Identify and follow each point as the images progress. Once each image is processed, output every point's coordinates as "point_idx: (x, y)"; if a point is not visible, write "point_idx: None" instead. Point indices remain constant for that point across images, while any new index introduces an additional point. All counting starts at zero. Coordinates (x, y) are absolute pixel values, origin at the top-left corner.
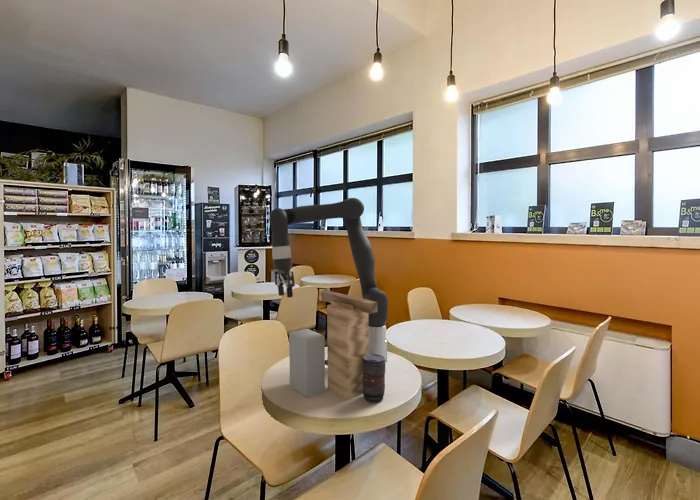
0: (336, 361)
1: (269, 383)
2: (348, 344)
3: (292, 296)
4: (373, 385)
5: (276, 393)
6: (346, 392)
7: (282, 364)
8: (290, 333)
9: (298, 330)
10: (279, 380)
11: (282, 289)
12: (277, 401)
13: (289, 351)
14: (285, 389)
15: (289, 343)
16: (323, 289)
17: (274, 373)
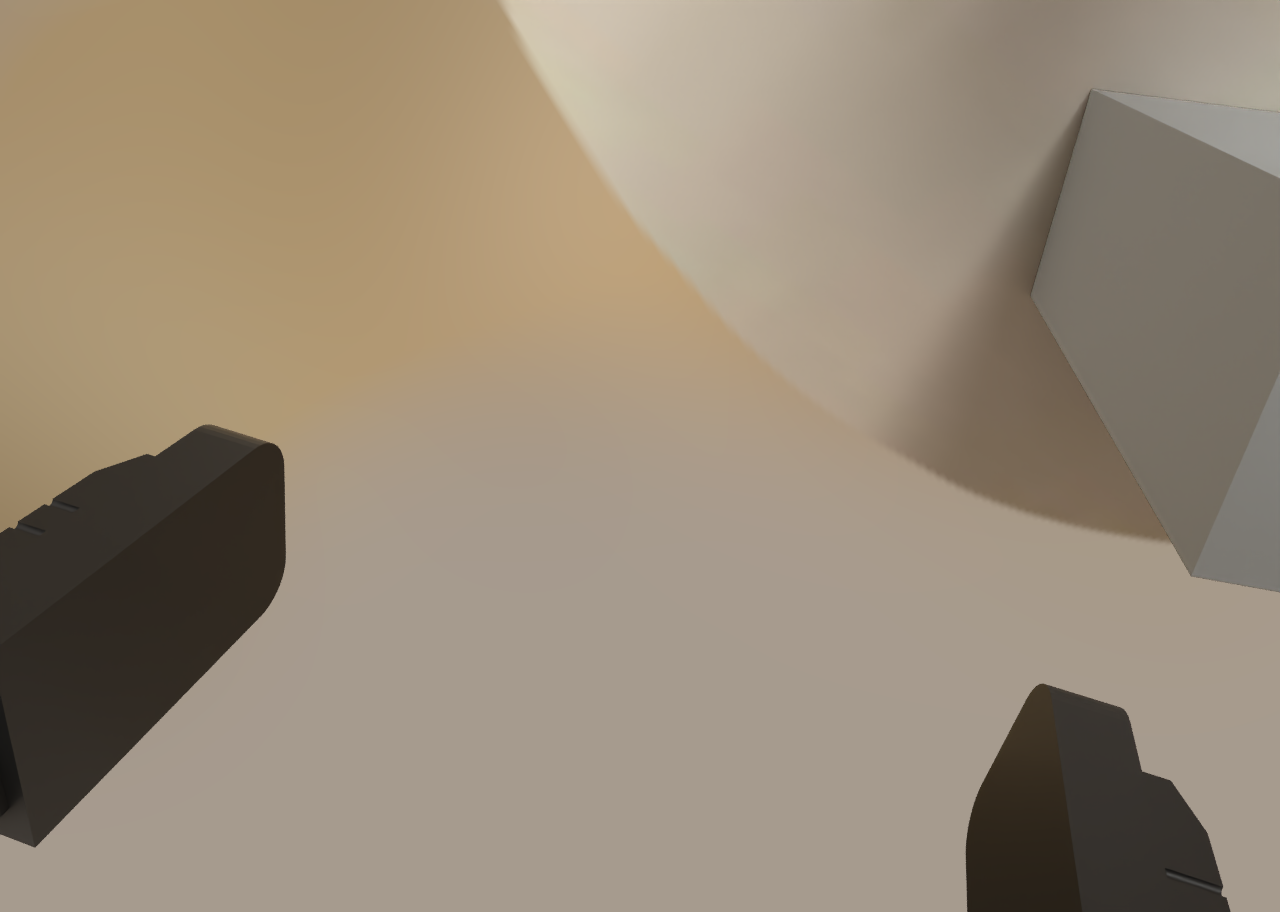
0: None
1: (830, 380)
2: None
3: (1113, 711)
4: None
5: (1033, 452)
6: None
7: (547, 15)
8: (1233, 579)
9: (1265, 406)
10: (853, 286)
11: (116, 610)
12: (1146, 525)
13: (1111, 435)
14: (1045, 363)
15: (1142, 486)
16: None
17: (685, 222)
